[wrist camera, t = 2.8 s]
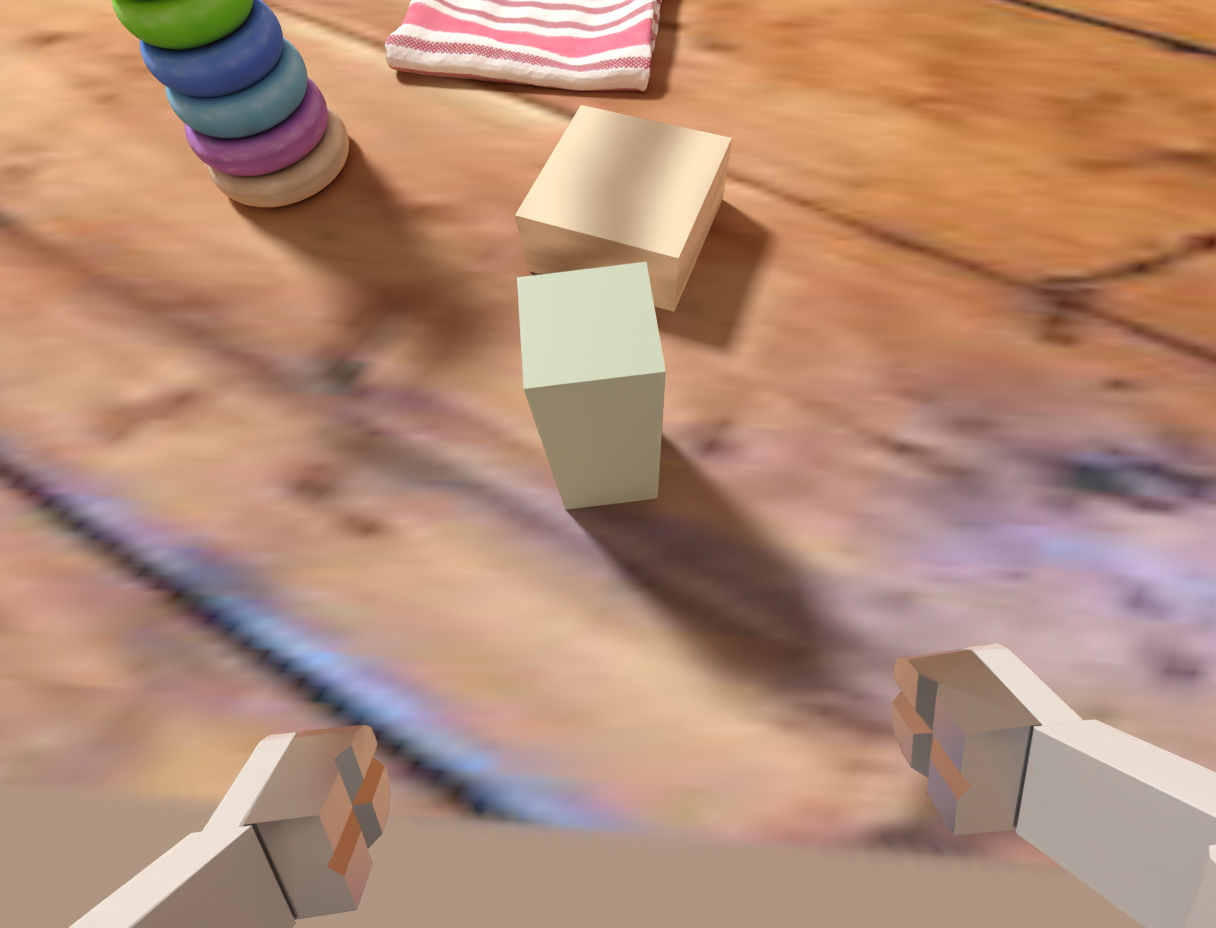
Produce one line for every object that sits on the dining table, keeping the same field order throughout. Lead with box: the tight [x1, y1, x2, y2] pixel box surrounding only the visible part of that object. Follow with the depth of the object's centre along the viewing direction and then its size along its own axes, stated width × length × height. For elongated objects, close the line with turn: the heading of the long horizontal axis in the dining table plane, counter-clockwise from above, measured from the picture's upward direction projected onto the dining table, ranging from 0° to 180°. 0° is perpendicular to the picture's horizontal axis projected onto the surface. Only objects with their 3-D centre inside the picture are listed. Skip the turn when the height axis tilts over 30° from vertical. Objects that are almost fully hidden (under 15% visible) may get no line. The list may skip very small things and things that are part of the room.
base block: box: [515, 105, 732, 312], centre depth 31 cm, size 8×8×4 cm
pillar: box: [517, 262, 666, 510], centre depth 22 cm, size 4×4×10 cm
